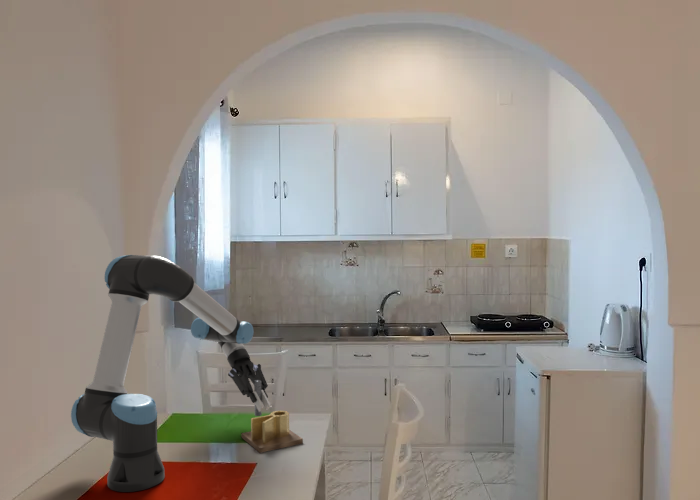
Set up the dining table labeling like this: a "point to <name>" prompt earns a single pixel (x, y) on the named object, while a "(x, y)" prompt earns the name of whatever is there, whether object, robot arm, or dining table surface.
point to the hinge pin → (258, 390)
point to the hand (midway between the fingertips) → (264, 408)
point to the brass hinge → (270, 426)
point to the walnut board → (272, 442)
